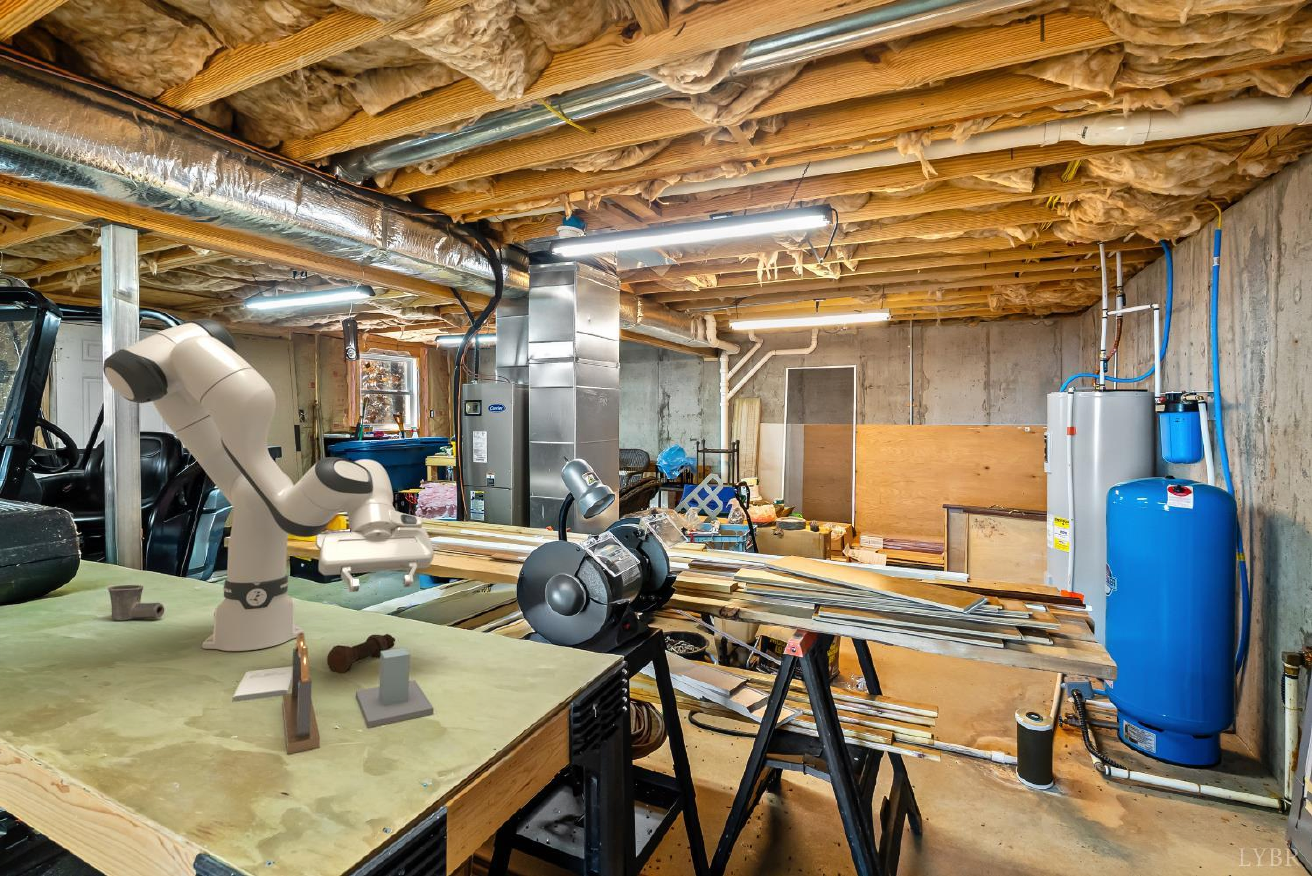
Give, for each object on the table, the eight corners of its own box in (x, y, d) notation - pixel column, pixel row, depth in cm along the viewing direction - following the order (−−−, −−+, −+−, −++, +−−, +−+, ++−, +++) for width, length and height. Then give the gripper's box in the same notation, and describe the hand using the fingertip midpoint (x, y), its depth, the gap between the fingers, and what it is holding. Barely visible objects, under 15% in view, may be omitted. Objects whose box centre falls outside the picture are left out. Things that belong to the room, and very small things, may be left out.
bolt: (392, 658, 132) (339, 681, 118) (376, 644, 133) (321, 665, 119) (404, 636, 132) (353, 656, 117) (388, 622, 133) (335, 640, 118)
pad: (355, 696, 107) (355, 690, 107) (414, 685, 113) (415, 679, 113) (368, 727, 96) (368, 721, 96) (433, 713, 101) (433, 707, 101)
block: (379, 697, 105) (380, 651, 105) (403, 692, 107) (405, 647, 107) (383, 705, 102) (384, 658, 102) (408, 700, 104) (409, 654, 104)
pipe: (149, 623, 146) (151, 590, 146) (97, 622, 146) (99, 589, 146) (170, 616, 152) (171, 584, 152) (120, 615, 152) (121, 583, 152)
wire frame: (282, 703, 104) (285, 624, 104) (309, 698, 106) (311, 621, 106) (287, 754, 87) (291, 660, 87) (319, 747, 89) (322, 655, 90)
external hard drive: (231, 705, 104) (245, 679, 115) (287, 698, 108) (295, 673, 119) (232, 696, 104) (245, 670, 115) (287, 689, 108) (295, 665, 119)
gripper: (317, 520, 113) (321, 583, 105) (429, 517, 125) (441, 573, 117) (313, 540, 117) (316, 603, 109) (422, 536, 129) (433, 591, 121)
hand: (382, 587), depth 113 cm, fingers open, 8 cm apart
